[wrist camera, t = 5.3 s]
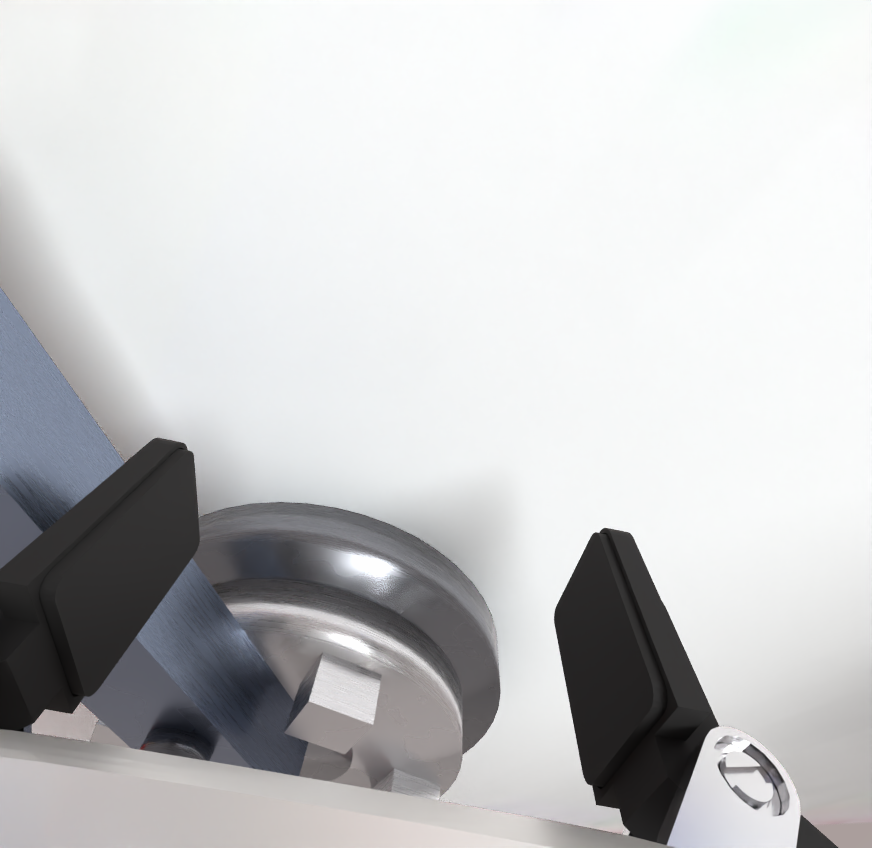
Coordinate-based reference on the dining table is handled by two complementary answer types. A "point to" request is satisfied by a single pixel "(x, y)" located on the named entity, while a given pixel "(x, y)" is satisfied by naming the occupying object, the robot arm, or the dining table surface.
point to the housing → (364, 581)
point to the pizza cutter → (232, 631)
